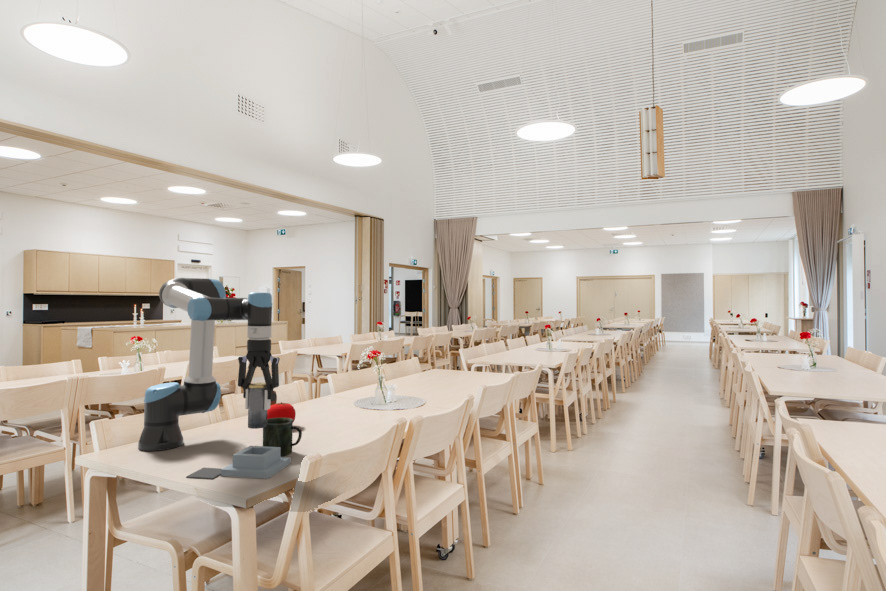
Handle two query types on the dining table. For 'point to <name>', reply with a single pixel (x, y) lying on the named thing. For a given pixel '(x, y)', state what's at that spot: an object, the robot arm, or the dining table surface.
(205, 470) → the mat
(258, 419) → the grey canister
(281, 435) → the mug
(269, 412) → the tomato
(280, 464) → the housing
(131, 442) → the dining table surface
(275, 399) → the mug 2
